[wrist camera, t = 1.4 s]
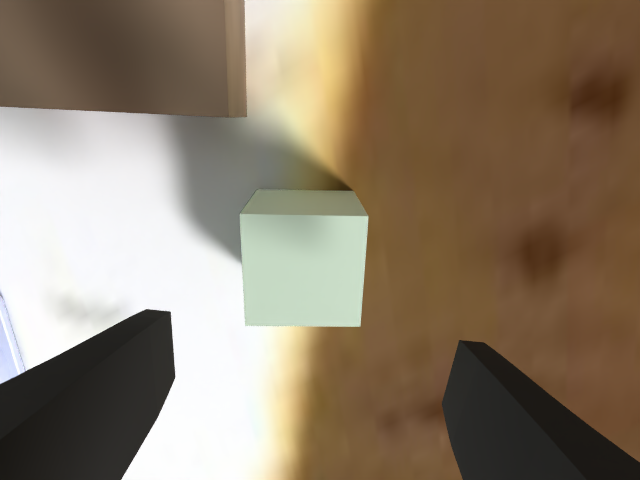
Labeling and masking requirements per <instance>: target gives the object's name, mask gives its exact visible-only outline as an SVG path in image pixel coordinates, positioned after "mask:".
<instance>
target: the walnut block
mask: <svg viewBox="0 0 640 480" xmlns="http://www.w3.org/2000/svg"><path fill="white" fill-rule="evenodd" d="M0 107H21V108H42V109H63V110H84V111H105V112H126V113H147V114H168V115H189V116H210V117H247V101H246V55H245V9H244V0H0Z"/></svg>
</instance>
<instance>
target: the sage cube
mask: <svg viewBox="0 0 640 480" xmlns="http://www.w3.org/2000/svg"><path fill="white" fill-rule="evenodd" d="M239 215H240V234H241V253H242V273H243V292H244V311H245V326H349V327H360V323H361V310H362V296H363V283H364V269H365V255H366V242H367V228H368V215H367V213H366V211H365V210H364V208H363V206H362V205H361V203H360V201H359V199H358V198H357V196H356V194H355V193H354V191H331V190H280V189H257V190H256V192H255V193H254V194H253V196H252V197H251V199H250V200H249V201H248V203H247V204H246V206H245V207H244V208H243V210H242V211H241V213H240V214H239Z"/></svg>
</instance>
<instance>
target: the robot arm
mask: <svg viewBox="0 0 640 480" xmlns="http://www.w3.org/2000/svg"><path fill="white" fill-rule="evenodd" d="M174 379H175V367H174V353H173V339H172V325H171V312H169V311H159V310H149V309H146V310H144V311H141V312H139V313H137V314H135V315H133V316H131V317H129V318H127V319H125V320H123V321H121V322H120V323H118V324H116V325H114V326H112V327H110V328H108V329H106V330H105V331H103V332H101V333H99V334H97V335H95V336H93V337H92V338H90V339H88V340H86V341H84V342H82V343H80V344H78V345H77V346H75V347H73V348H71V349H69V350H67V351H65V352H63V353H61V354H60V355H58V356H56V357H54V358H52V359H50V360H48V361H46V362H44V363H42V364H40V365H38V366H35V367H33V368H31V369H29V370H27V371H25V369H24V366H23V363H22V360H21V356H20V353H19V350H18V347H17V343H16V340H15V337H14V334H13V330H12V327H11V324H10V321H9V317H8V314H7V311H6V308H5V304H4V301H3V298H2V297H1V295H0V480H121V479H122V477H123V475H124V474H125V472H126V470H127V469H128V467H129V465H130V464H131V462H132V460H133V459H134V457H135V455H136V454H137V452H138V450H139V448H140V447H141V445H142V443H143V442H144V440H145V438H146V437H147V435H148V433H149V431H150V430H151V428H152V426H153V424H154V423H155V421H156V419H157V417H158V415H159V413H160V411H161V409H162V407H163V405H164V402H165V400H166V398H167V396H168V393H169V391H170V388H171V386H172V384H173V381H174ZM442 407H443V412H444V417H445V421H446V426H447V430H448V434H449V438H450V442H451V446H452V449H453V452H454V455H455V458H456V461H457V464H458V467H459V469H460V472H461V475H462V478H463V480H640V462H638V461H637V460H635V459H634V458H633V457H631V456H630V455H628V454H627V453H626V452H624V451H623V450H622V449H620V448H619V447H618V446H616V445H615V444H613V443H612V442H611V441H609V440H608V439H607V438H605V437H604V436H603V435H601V434H600V433H599V432H597V431H596V430H594V429H593V428H592V427H590V426H589V425H588V424H587V423H585V422H584V421H583V420H581V419H580V418H579V417H577V416H576V415H575V414H574V413H572V412H571V411H570V410H568V409H567V408H566V407H565V406H563V405H562V404H561V403H560V402H558V401H557V400H556V399H555V398H553V397H552V396H551V395H550V394H548V393H547V392H546V391H545V390H543V389H542V388H541V387H540V386H538V385H537V384H536V383H535V382H534V381H532V380H531V379H530V378H529V377H527V376H526V375H525V374H524V373H522V372H521V371H520V370H519V369H518V368H516V367H515V366H514V365H513V364H511V363H510V362H509V361H508V360H506V359H505V358H504V357H503V356H501V355H500V354H499V353H498V352H496V351H495V350H494V349H492V348H491V347H490V346H488V345H487V344H485V343H483V342H473V341H462V340H459V343H458V347H457V350H456V354H455V358H454V361H453V365H452V369H451V372H450V376H449V380H448V383H447V387H446V390H445V394H444V398H443V401H442Z"/></svg>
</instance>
